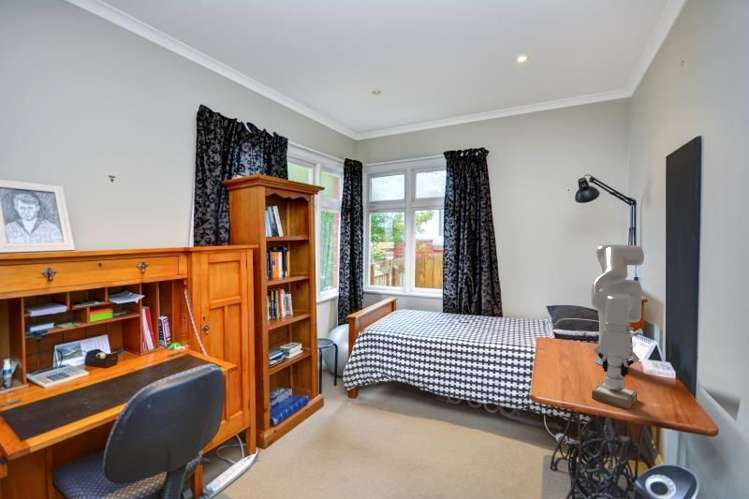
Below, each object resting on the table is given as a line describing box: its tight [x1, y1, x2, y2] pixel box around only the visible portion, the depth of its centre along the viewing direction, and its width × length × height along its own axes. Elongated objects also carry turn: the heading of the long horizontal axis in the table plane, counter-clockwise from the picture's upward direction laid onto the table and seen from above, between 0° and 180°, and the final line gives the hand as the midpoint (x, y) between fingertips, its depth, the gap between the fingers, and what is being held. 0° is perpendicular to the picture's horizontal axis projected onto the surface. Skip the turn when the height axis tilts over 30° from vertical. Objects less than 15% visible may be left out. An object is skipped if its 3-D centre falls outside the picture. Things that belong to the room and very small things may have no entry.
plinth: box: [591, 381, 638, 410], centre depth 138 cm, size 12×12×3 cm
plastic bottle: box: [604, 349, 626, 391], centre depth 138 cm, size 6×7×20 cm
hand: (615, 372), depth 138 cm, fingers closed on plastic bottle, 5 cm apart
